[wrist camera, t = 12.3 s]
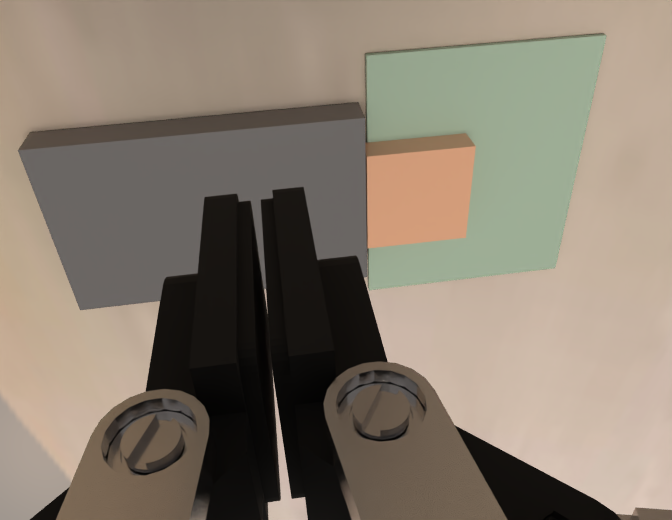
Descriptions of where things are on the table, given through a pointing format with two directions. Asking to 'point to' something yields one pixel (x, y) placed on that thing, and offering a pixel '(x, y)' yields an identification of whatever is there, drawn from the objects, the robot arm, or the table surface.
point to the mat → (489, 147)
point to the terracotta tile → (418, 189)
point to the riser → (190, 191)
